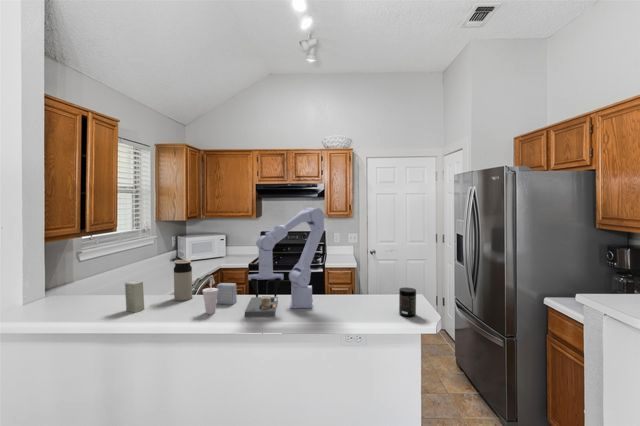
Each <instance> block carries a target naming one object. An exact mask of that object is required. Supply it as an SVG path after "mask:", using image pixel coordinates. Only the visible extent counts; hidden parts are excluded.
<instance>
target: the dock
mask: <svg viewBox="0 0 640 426" xmlns="http://www.w3.org/2000/svg"><path fill="white" fill-rule="evenodd" d="M261 298H262V297H261V296H260V297H259V296H258V297H256V296H255V297H254V296H253V297H251V298H250V300H249V302H248V304H247V306H246V309H245V310H244V317H275V316H276V311H277V306H278V303H279V302H278V301H279V297H278V296H276V297H275V296H271V309H261Z"/></svg>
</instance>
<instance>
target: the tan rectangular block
mask: <svg viewBox="0 0 640 426" xmlns="http://www.w3.org/2000/svg"><path fill="white" fill-rule="evenodd" d="M271 297H272V295H270V296H269V295H265V296H264V295H263V296H262V298H261V309H271Z"/></svg>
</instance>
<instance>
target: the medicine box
mask: <svg viewBox="0 0 640 426" xmlns="http://www.w3.org/2000/svg"><path fill="white" fill-rule="evenodd" d="M216 288H218V292H217V302H216V305H217V304H218V305H235V304H236V303H237V302H238V300H237V299H238V298H237V297H238V296H237V294H238V293H237V283H235V282H234V283H233V282H220V283H218V284H217V285H216Z"/></svg>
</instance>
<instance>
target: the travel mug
mask: <svg viewBox="0 0 640 426" xmlns="http://www.w3.org/2000/svg"><path fill="white" fill-rule="evenodd" d="M173 262H174V267H173V294H174V295H173V297H174V300H175V301H178V302H183V301H185V302H186V301H189V300H191V299H192V298H193V271H192V270H193V267H192V265H191V262H192V260H191V259H178V260H174V261H173Z"/></svg>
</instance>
